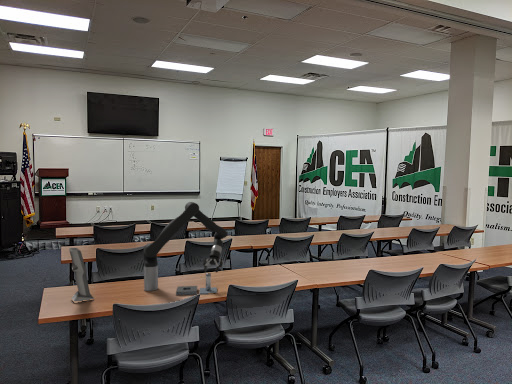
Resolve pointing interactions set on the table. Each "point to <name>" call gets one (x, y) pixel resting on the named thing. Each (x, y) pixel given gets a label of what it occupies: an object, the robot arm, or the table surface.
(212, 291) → the rubber mat
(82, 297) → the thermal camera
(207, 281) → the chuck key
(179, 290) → the chuck plate
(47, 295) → the table surface
